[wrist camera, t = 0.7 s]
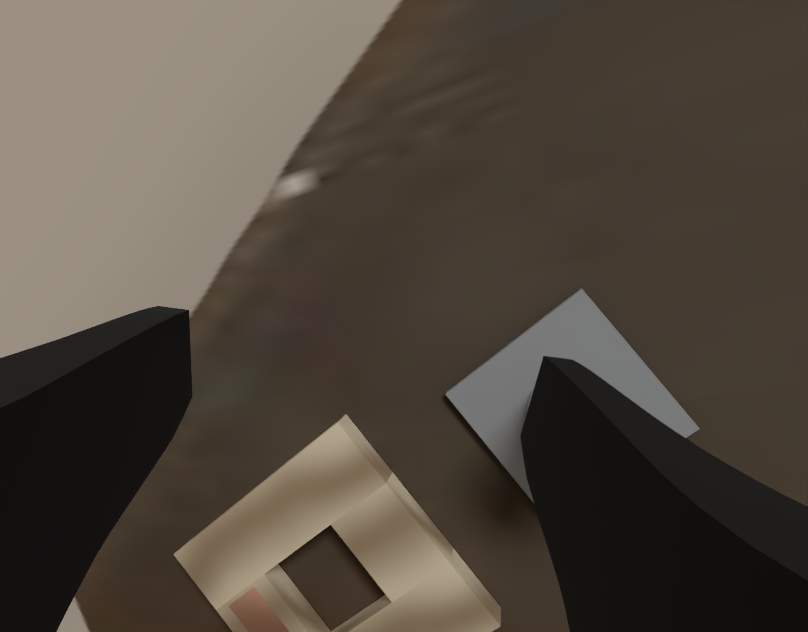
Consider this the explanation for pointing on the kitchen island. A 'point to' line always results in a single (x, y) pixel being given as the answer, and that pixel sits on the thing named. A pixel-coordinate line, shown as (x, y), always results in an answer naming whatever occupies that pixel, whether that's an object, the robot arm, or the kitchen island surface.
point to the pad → (519, 366)
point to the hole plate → (357, 526)
